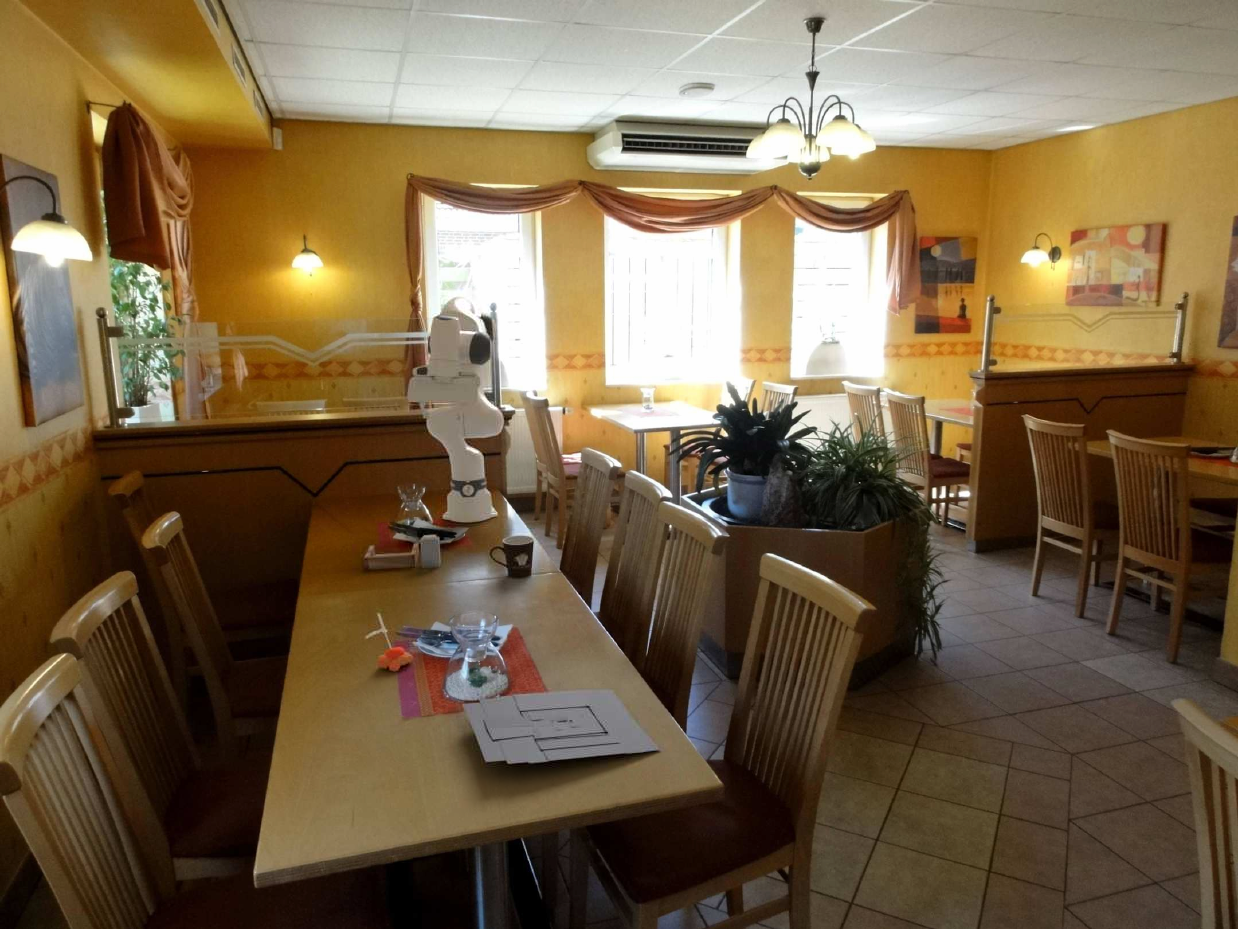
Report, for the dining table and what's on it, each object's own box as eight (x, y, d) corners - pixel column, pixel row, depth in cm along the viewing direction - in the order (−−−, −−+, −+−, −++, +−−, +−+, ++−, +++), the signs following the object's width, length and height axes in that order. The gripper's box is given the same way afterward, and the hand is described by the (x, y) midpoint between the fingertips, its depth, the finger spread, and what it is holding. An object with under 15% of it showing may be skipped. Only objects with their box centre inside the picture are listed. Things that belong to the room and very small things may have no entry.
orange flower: (365, 666, 178) (360, 613, 175) (410, 657, 182) (406, 605, 179) (370, 678, 172) (365, 623, 170) (416, 668, 176) (412, 614, 174)
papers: (459, 713, 155) (460, 694, 154) (610, 701, 166) (612, 684, 165) (486, 784, 133) (488, 763, 132) (659, 765, 144) (661, 745, 143)
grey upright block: (423, 564, 243) (421, 534, 241) (440, 563, 243) (439, 534, 241) (422, 568, 239) (420, 538, 237) (439, 567, 240) (438, 537, 238)
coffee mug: (538, 569, 236) (536, 535, 234) (532, 580, 228) (530, 545, 226) (497, 568, 238) (496, 535, 235) (490, 579, 229) (488, 544, 227)
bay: (371, 556, 250) (370, 545, 249) (419, 554, 252) (418, 542, 251) (364, 569, 238) (364, 558, 238) (415, 566, 240) (414, 555, 239)
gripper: (481, 373, 247) (479, 420, 248) (410, 370, 245) (408, 417, 246) (479, 372, 241) (478, 420, 241) (407, 368, 239) (405, 417, 239)
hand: (442, 419), depth 244 cm, fingers open, 8 cm apart
